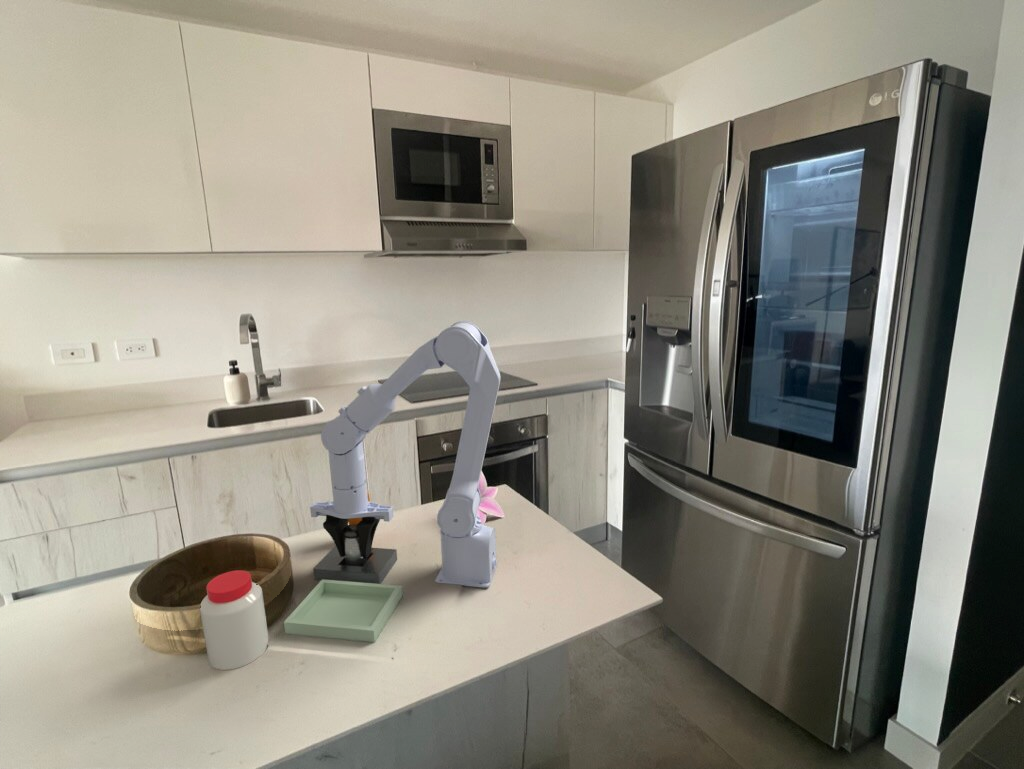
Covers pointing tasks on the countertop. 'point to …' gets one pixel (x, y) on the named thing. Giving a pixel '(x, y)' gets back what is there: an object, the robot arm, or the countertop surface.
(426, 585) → the countertop surface
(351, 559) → the pin
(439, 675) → the countertop surface
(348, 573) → the hitch block
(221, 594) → the pill bottle
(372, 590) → the tray
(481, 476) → the lily
